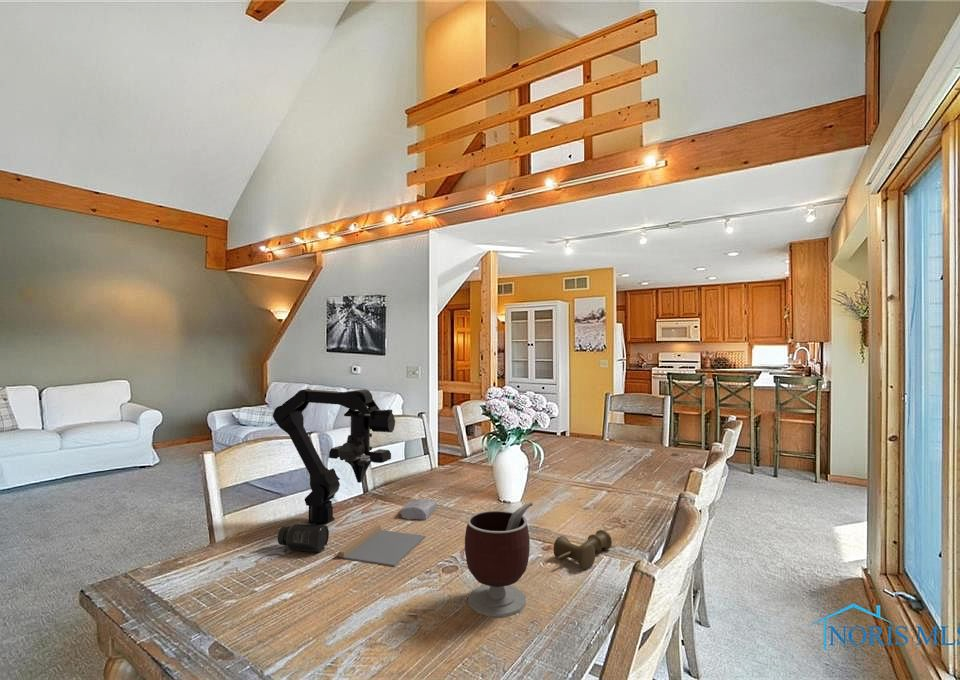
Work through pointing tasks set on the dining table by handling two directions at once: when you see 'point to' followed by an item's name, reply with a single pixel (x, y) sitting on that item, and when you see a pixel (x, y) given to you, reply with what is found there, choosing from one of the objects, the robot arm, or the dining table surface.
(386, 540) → the mat
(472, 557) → the mate gourd
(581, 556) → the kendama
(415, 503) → the stone block
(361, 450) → the robot arm
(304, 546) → the supplement bottle
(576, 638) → the dining table surface
